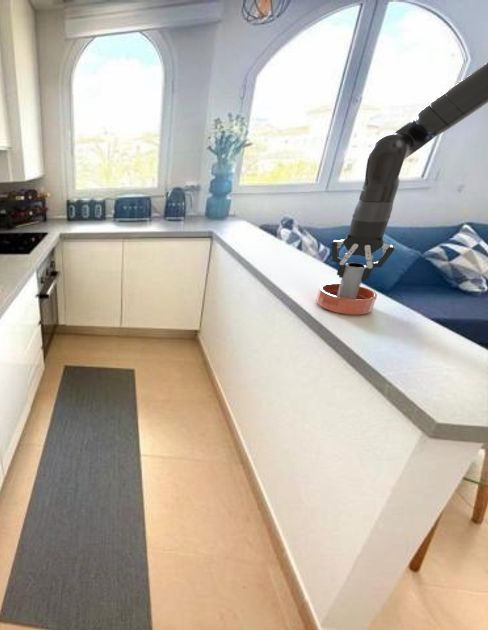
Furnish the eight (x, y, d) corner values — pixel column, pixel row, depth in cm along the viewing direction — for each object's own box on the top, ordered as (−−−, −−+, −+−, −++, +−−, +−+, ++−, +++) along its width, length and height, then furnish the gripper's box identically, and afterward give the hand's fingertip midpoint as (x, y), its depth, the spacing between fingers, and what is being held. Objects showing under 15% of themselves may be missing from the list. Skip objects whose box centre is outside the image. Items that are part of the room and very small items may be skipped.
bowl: (373, 303, 103) (378, 288, 100) (368, 320, 94) (374, 303, 92) (320, 294, 111) (324, 280, 109) (312, 309, 102) (316, 293, 100)
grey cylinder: (336, 299, 101) (346, 266, 96) (336, 294, 104) (345, 261, 99) (355, 302, 98) (366, 268, 94) (355, 296, 102) (365, 263, 97)
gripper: (407, 217, 89) (385, 279, 96) (339, 213, 98) (324, 270, 105) (406, 222, 84) (383, 287, 92) (335, 218, 93) (319, 277, 100)
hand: (351, 278), depth 98 cm, fingers closed on grey cylinder, 4 cm apart
